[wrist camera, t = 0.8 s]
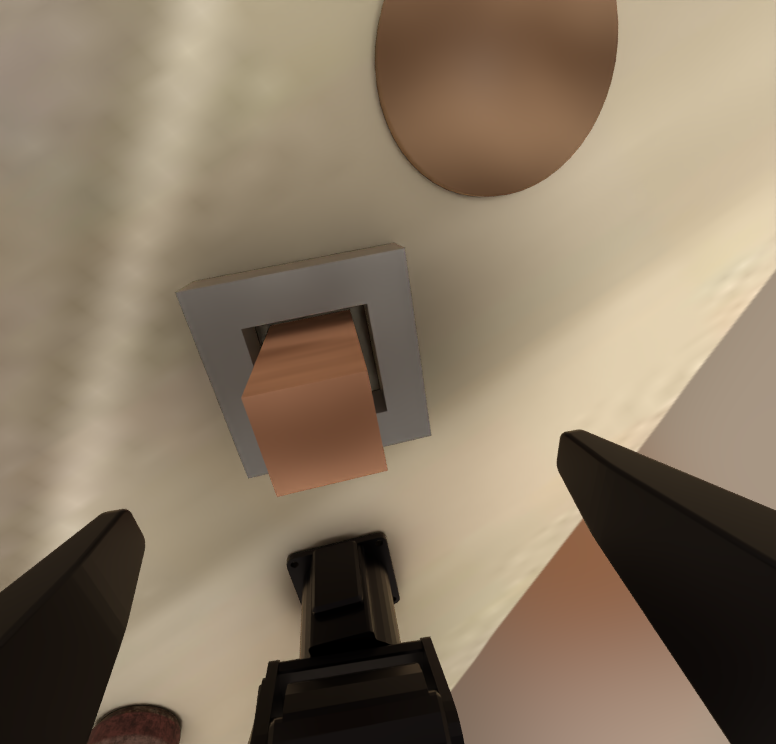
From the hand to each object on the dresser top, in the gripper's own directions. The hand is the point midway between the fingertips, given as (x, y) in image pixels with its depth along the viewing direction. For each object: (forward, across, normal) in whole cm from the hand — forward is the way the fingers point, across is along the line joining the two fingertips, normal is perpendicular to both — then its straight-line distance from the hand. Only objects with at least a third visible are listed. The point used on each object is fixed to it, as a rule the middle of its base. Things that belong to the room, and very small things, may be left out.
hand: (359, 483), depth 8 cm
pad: (+13, -8, -9) cm, 18 cm away
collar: (+13, +1, +2) cm, 13 cm away
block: (+13, +1, +2) cm, 13 cm away
